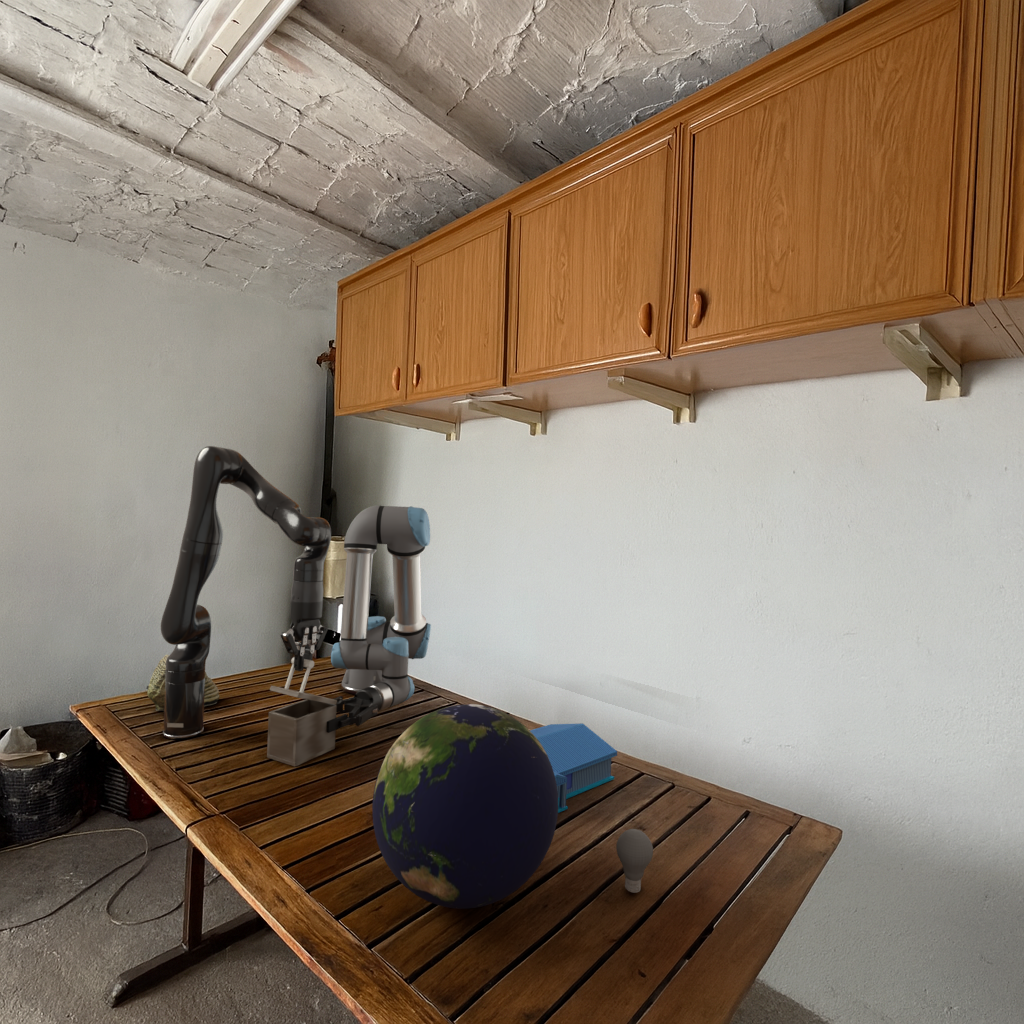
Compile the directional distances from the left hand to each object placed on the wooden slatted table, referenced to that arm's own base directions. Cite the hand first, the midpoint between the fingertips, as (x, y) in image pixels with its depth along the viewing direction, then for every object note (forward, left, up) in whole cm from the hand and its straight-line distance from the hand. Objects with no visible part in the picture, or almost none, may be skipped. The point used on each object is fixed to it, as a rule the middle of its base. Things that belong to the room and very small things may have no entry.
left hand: (302, 669), depth 155 cm
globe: (+68, -4, -21) cm, 71 cm away
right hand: (-1, +4, -14) cm, 15 cm away
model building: (+48, +31, -21) cm, 61 cm away
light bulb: (+85, +19, -21) cm, 90 cm away
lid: (0, +1, -7) cm, 7 cm away
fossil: (-52, -11, -21) cm, 57 cm away
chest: (0, +1, -21) cm, 21 cm away
